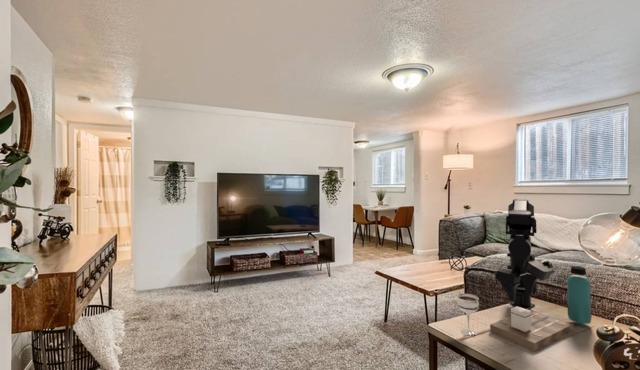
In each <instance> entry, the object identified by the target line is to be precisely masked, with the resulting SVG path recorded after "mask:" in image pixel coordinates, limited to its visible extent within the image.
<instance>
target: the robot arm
mask: <svg viewBox="0 0 640 370" xmlns="http://www.w3.org/2000/svg"><path fill="white" fill-rule="evenodd" d="M507 210H508V211H507V212H508V213H507V214H508V215H505V235H509V242H508V252H507V253H506V256H507V257H508V258H509V265H507V266H506V267H507V268H503V269H502V268H501V269H499V270H498V269H497V270H496V271H495V272H494V280H497V282H499V284H500V285H501V286H502V288H503V290H504V291H505V294H506V295H507V297H508V300H509V301H510V302H509V304H510V305H512V306H514V307H516V306H518V307H521V308H524V309H527V310H528V309H530V308H534V307H535V306H536V304H534V303H532V294H535V293H537V292H538V282H537V280H538V281H539V280H540V281H545V280H549V279H550V277H551V275H552V274H554V272H555V271H554V265H553V262H551V261H549V260H545V261H543V262H542V261H537V260H536V256H535V255H534V254H533V253H531V252H532V244H531V243H532V242H531V239H532V238H531V237H535V234H537V233H538V232H537V219H535V218H536V217H535V207H534V204H531V203H530V202H529V199H528V198H514V199H512V203H510V204H509V205H508V207H507ZM531 231H532V232H531Z"/></svg>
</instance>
